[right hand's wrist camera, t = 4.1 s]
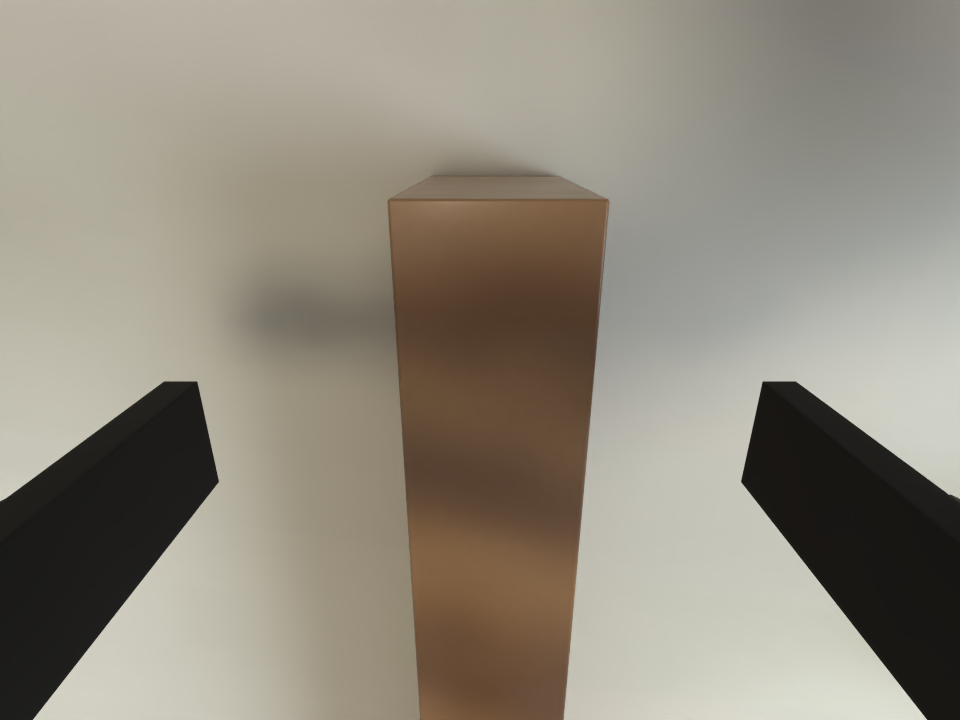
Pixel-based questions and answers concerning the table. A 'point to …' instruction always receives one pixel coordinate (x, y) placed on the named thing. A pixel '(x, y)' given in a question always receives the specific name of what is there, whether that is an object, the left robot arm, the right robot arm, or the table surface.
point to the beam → (495, 430)
